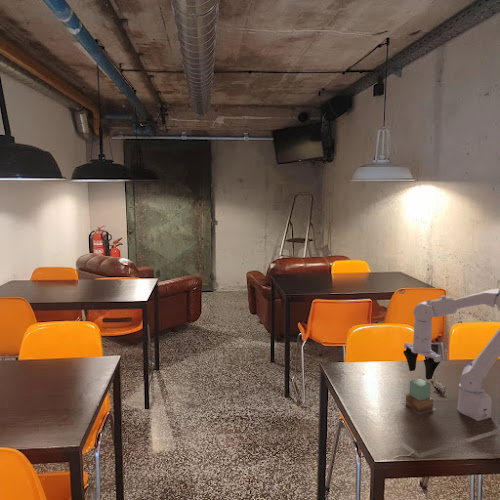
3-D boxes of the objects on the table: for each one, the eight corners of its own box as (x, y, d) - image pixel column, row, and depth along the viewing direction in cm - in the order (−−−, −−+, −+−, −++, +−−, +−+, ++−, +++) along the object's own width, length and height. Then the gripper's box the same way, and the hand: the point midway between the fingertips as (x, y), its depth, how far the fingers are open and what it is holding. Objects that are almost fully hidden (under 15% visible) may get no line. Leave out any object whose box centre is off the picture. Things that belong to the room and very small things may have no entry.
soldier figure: (445, 386, 164) (458, 390, 152) (436, 395, 163) (449, 400, 151) (430, 370, 165) (442, 373, 153) (421, 379, 165) (432, 383, 153)
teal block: (429, 398, 142) (430, 384, 141) (419, 400, 140) (420, 386, 140) (419, 392, 146) (420, 378, 146) (409, 394, 144) (409, 380, 144)
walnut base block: (432, 408, 142) (433, 398, 142) (419, 412, 140) (419, 402, 139) (419, 400, 148) (419, 391, 147) (405, 404, 145) (406, 394, 145)
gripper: (398, 332, 151) (396, 368, 153) (430, 345, 138) (428, 384, 140) (413, 329, 154) (411, 365, 156) (446, 342, 141) (443, 381, 142)
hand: (420, 374), depth 148 cm, fingers open, 7 cm apart
